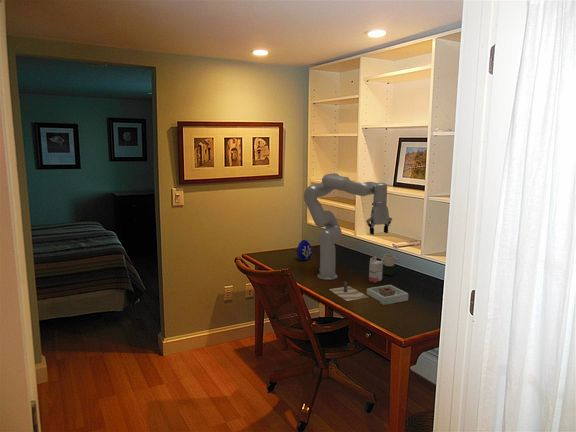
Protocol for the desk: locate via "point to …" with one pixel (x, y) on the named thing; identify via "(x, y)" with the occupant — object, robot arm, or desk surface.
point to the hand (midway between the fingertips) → (378, 233)
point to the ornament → (304, 250)
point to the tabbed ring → (387, 291)
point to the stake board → (348, 293)
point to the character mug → (388, 263)
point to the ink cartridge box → (375, 270)
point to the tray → (398, 296)
